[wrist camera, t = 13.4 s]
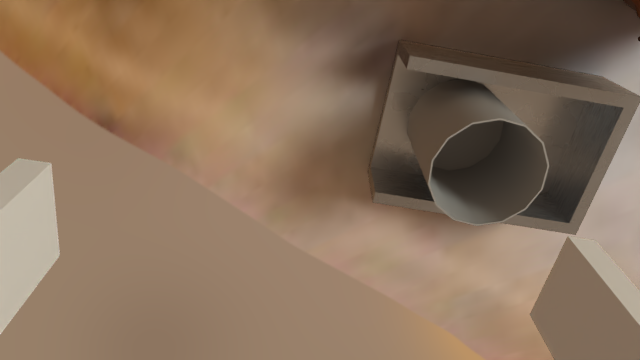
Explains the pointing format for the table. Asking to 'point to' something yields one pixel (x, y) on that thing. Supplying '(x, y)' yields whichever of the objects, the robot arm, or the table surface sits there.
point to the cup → (476, 153)
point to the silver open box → (529, 106)
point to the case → (634, 7)
